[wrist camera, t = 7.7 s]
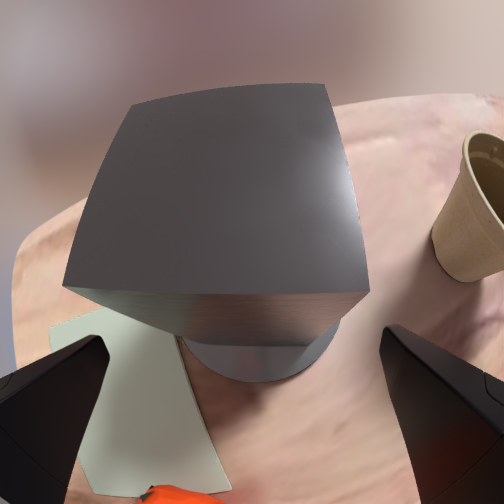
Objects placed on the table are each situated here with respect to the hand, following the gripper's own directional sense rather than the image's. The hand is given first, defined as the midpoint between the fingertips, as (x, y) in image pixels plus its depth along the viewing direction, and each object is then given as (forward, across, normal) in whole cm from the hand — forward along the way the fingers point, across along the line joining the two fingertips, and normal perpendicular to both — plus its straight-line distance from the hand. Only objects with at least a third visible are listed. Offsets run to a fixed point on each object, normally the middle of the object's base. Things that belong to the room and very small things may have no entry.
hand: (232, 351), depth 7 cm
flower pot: (+11, -17, +2) cm, 20 cm away
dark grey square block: (+9, 0, +3) cm, 9 cm away
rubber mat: (+4, +10, +9) cm, 14 cm away
